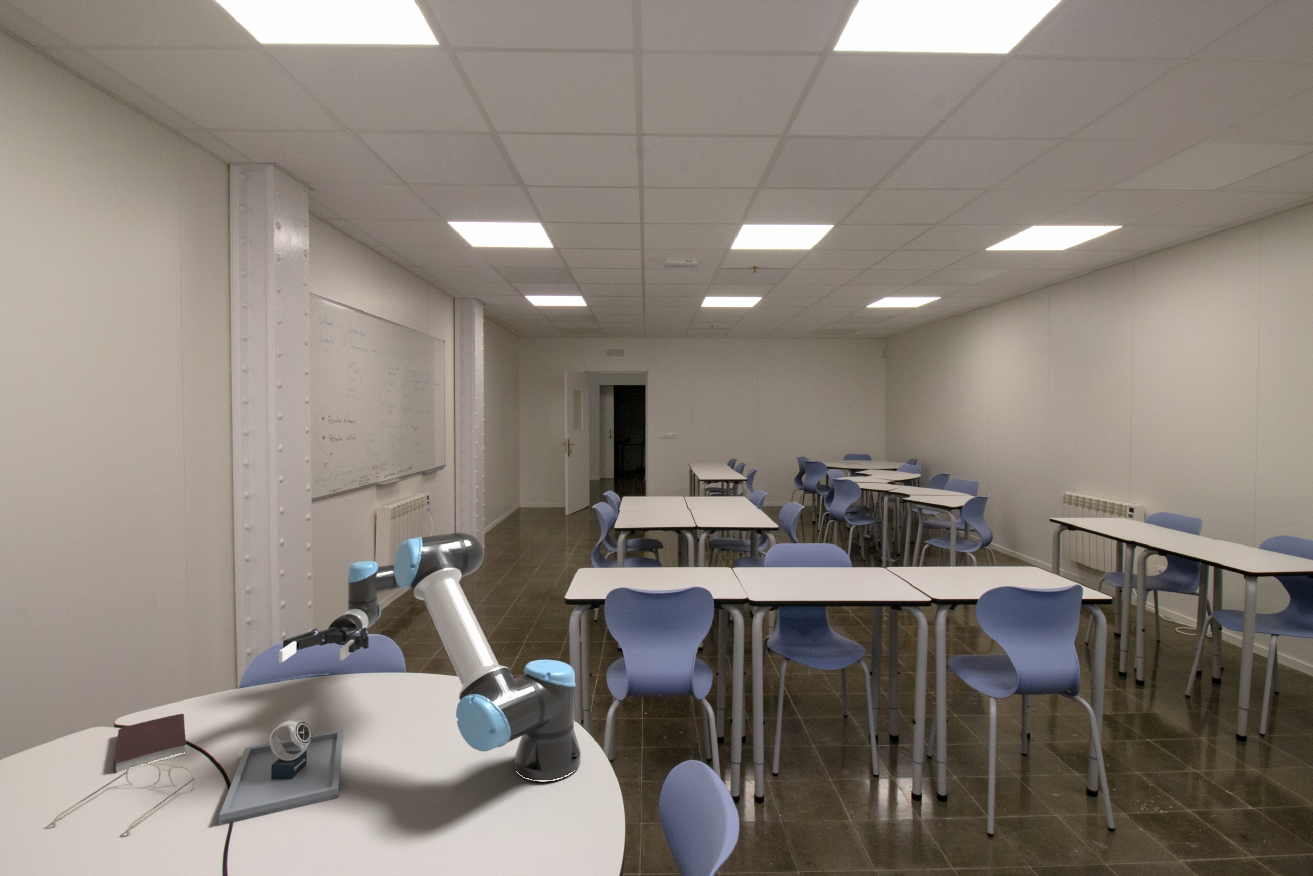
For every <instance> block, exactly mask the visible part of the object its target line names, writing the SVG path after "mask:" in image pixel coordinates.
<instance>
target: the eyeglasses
mask: <svg viewBox="0 0 1313 876" xmlns="http://www.w3.org/2000/svg"><path fill="white" fill-rule="evenodd" d="M138 764H147V765H150V766H153V767H156V768H157V769H158V779H157V781H156V782H154V783H152V784H153V785H156V784H158V783H159V782H160V778H161V775H162V774H161V771H165V769H163V768H161V769H160V767H159V766H158V765H161V766H162V765H163V766H167V764H165V763H164V764H163V763H158V765H157V764H156V762H155V763H151V764H148V763H138ZM134 765H137V764H134ZM147 765H146V766H147ZM132 766H133V765H132ZM132 766H130V767H132ZM168 766H170V768H169V769H166V771H168V775H167V776H168V778H169V780H170V783H171V784H172V785H173V786H174V787H178V785H177V784H175V783H174V782H173V780H172V777H171V770H172V769H173V768H180V769H185V770H187V771H189V773H190V775H191V777H192V778H191V780H189V781H188V782H186V783H185V784H184V785H182V786H181V787H180V788H178V789H177V790H175V791H174V792H173V793H172V794H170V795H168V796H167V797H166V798H164V799H163V800H162V801H161V802H159V803H158V804H156V805H155V806H154V807H152V808H150V809H149V810H148V811H146V812H145V813H144V814H143V815H141V816H140V817H138V818H137V819H135V820H134V821H133V822H132V823H131V824H130V825H129V826H128V828H127V832H126V836H127V837H129V836H131V829H132V827H133V825H134V824H136V823H138V822H139V821H140V820H142V819H143V818H144V817H145V816H147V815H148V814H150V813H151V812H152V811H153V810H155V809H156V808H157V807H159V806H160V805H162V804H163V803H165V801H167V800H169V799H170V798H171V797H173V796H174V795H175V794H176V793H178V792H179V791H180V790H182V789H183V788H185V787H186V786H187V785H188V784H191V783H192V782H193V787H192V788H191V791H193V790H194V789H195V777H194V775H193V772H192V771H191V769H189V768H187V767H184V766H179V765H175V764H174V765H173V764H168ZM171 766H172V767H171ZM130 767H129V768H130ZM129 768H128V769H127V770H126V771H125V772H124V773H122V774H120V775H119V776H117V777H116V778H114V779H113V780H110V781H109V782H108V783H107V784H105V785H103V786H101V787H100V788H99V789H97V790H96V791H94V792H92V793H90V794H89V795H88V796H86V797H84V798H82V799H81V800H80V801H77V802H76V803H74V804H73V805H72V806H70V807H68V808H67V809H65V810H63V811H62V812H61V813H59V814H57V816H55V818H54V819H53V822H52V829H55V828H56V827H57V823H56V822H57V820H58V819H59V818H60V817H62V816H63V815H64V814H66V813H68V812H69V811H70V810H72V809H73V808H75V807H76V806H78V805H79V804H81V803H82V802H84V801H85V800H87V799H89V798H91V797H92V796H93V795H95V794H96V793H98V792H99V791H101V790H103V789H105V788H106V787H107V786H109V785H110V784H112V783H114V782H115V781H117V780H118V779H120V778H121V777H123V776H124V775H125V778H126V782H127V783H128V784H129V785H133V783H132V782H131V781H129V777H128V774H129V773H128V772H129V770H130V769H131V768H130V769H129Z"/></svg>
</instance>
